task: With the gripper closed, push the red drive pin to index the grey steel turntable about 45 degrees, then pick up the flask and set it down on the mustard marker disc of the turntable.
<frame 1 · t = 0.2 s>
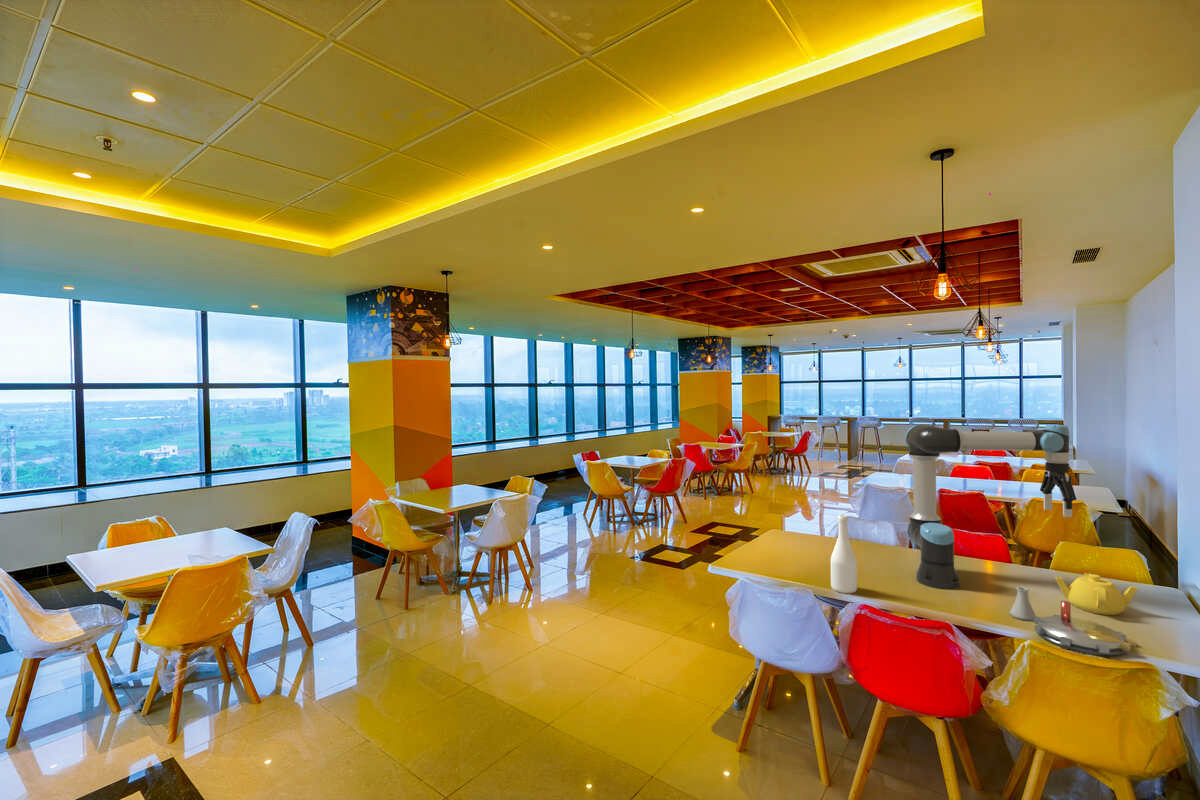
hand: (1057, 513, 218), 28 cm above the table, fingers open, 13 cm apart
teapot: (1095, 608, 190), on the table
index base: (1079, 640, 166), on the table
wine bottle: (843, 590, 211), on the table
turntable: (1079, 623, 166), point 5 cm above the table, hinge at 0.0°
flask: (1022, 617, 183), on the table
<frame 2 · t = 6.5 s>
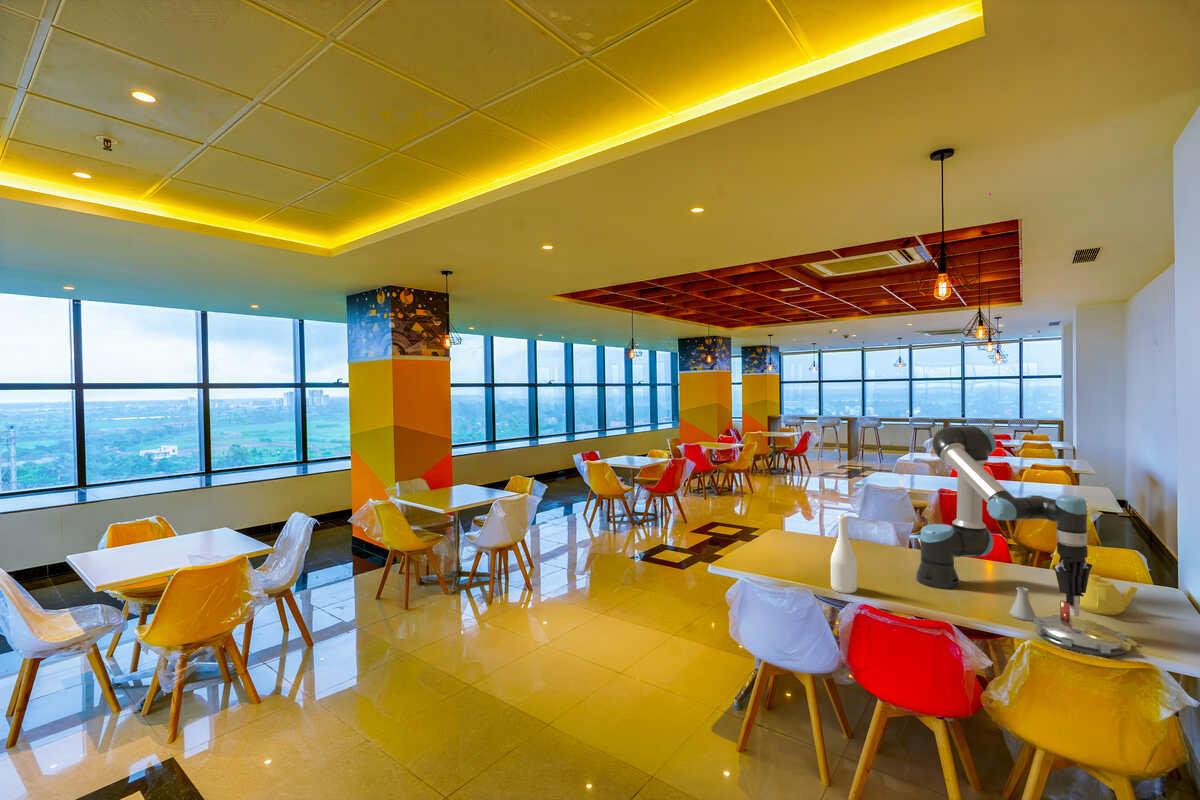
hand: (1073, 614, 173), 5 cm above the table, fingers closed
turntable: (1079, 623, 166), point 5 cm above the table, hinge at 1.6°, touching gripper
everything else where it was.
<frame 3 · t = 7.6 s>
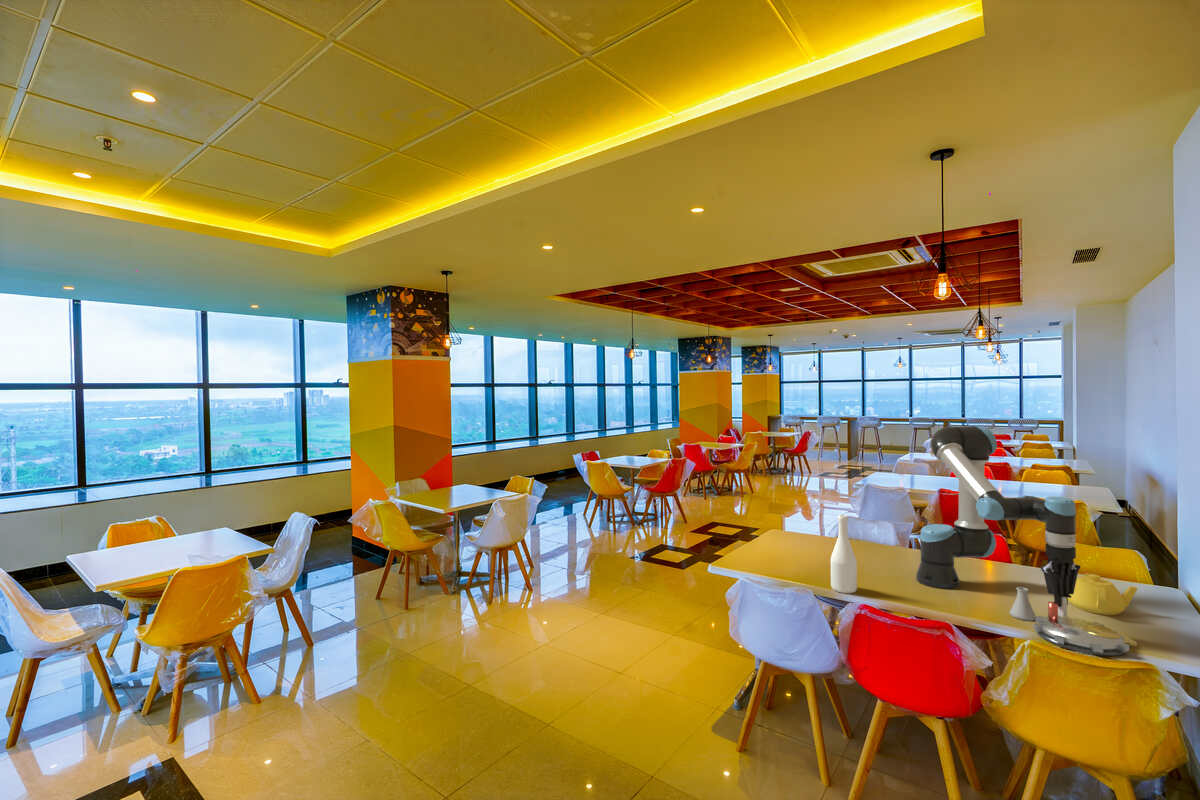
hand: (1061, 615, 173), 5 cm above the table, fingers closed
turntable: (1079, 623, 166), point 5 cm above the table, hinge at 37.4°, touching gripper
everything else where it was.
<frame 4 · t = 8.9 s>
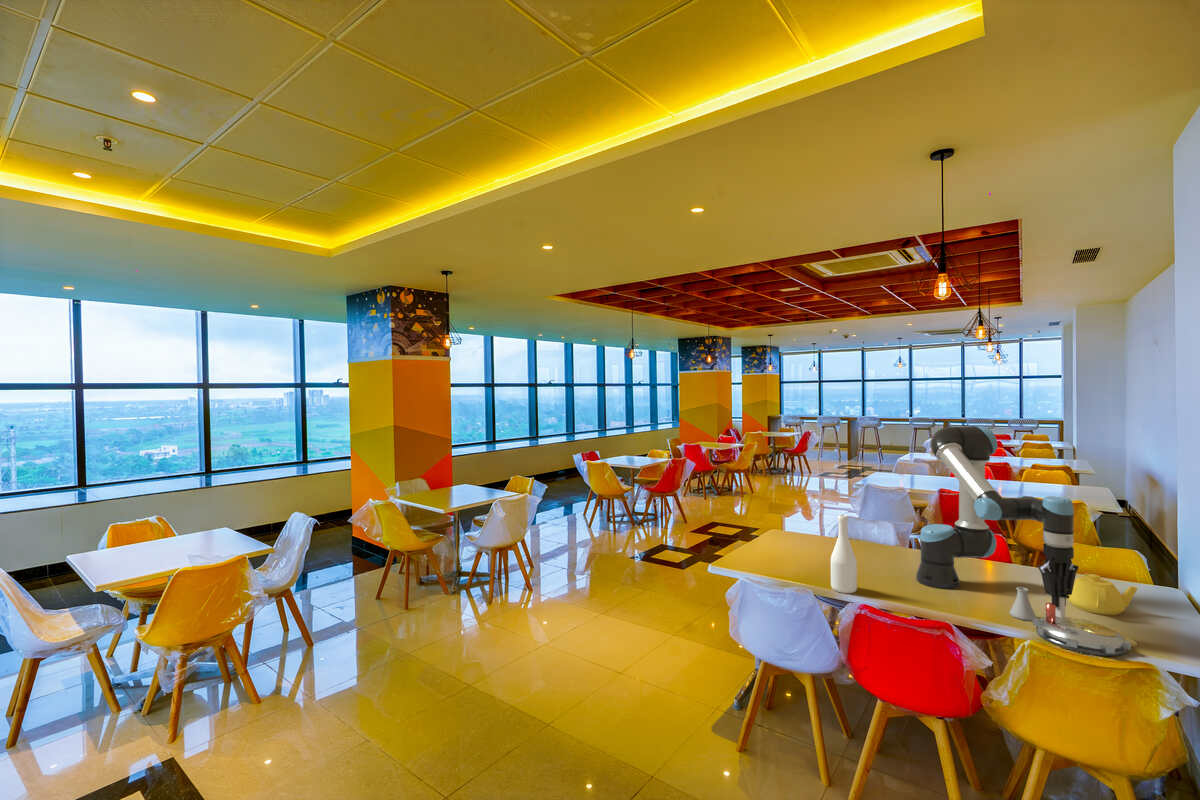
hand: (1058, 616, 172), 5 cm above the table, fingers closed
turntable: (1079, 623, 166), point 5 cm above the table, hinge at 52.6°
everything else where it was.
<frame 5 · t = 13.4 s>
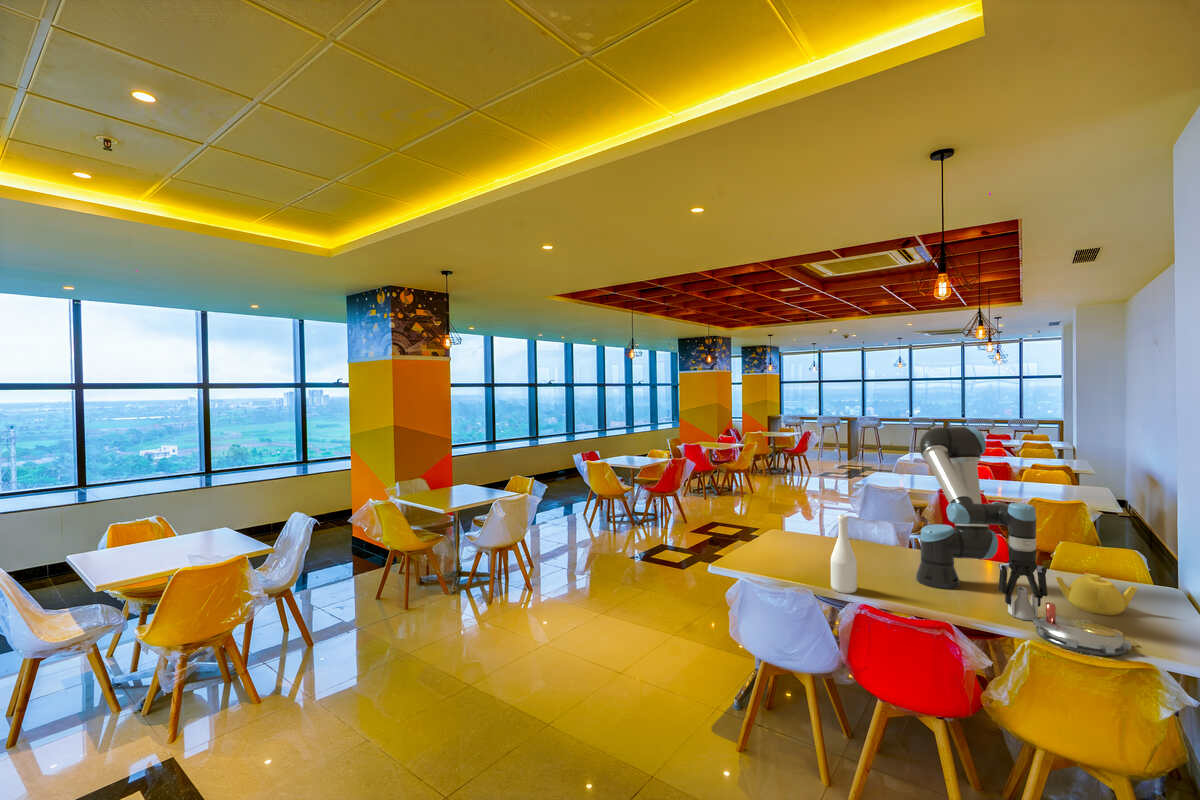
hand: (1022, 614, 183), 1 cm above the table, fingers closed on flask, 6 cm apart
flask: (1022, 617, 183), on the table, touching gripper
everything else where it was.
when the fingers open (6 cm above the table, at t = 17.8 s): flask drops 1 cm, resting on turntable.
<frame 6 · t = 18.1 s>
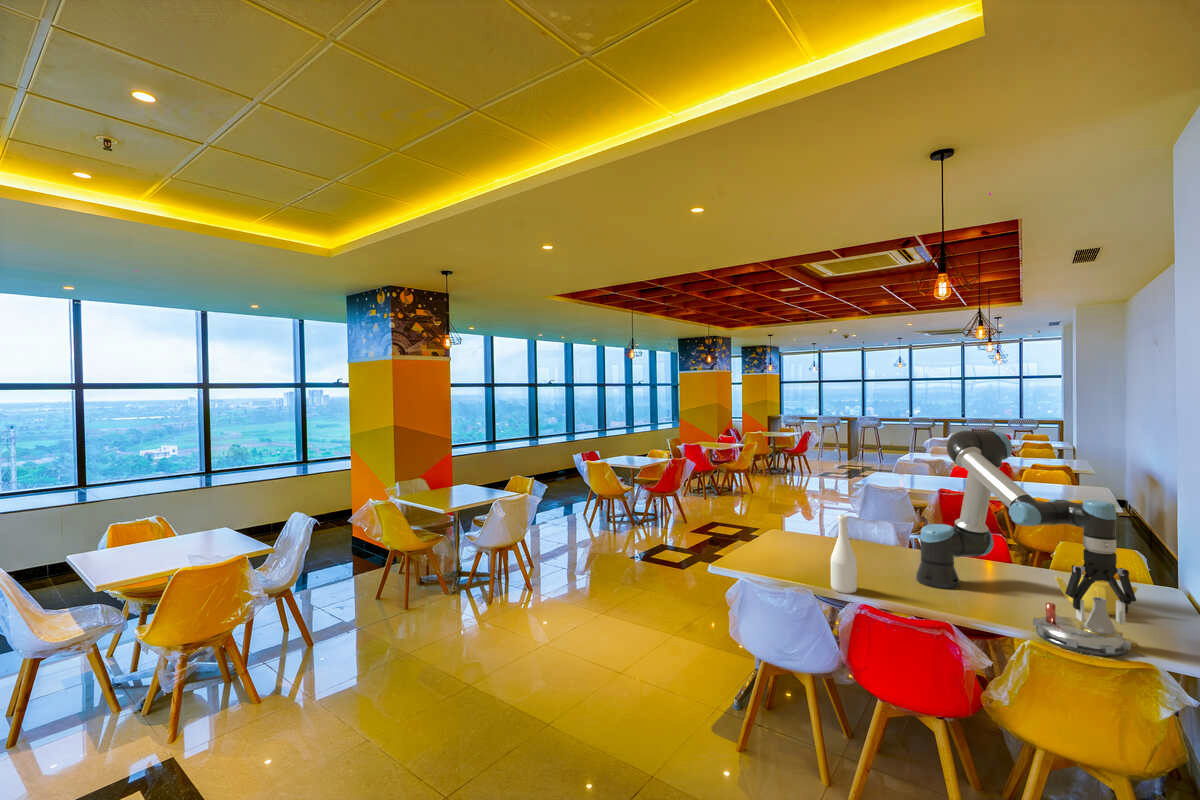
hand: (1100, 621, 164), 6 cm above the table, fingers open, 10 cm apart
turntable: (1079, 623, 166), point 5 cm above the table, hinge at 52.7°, touching flask
flask: (1099, 631, 164), point 3 cm above the table, touching turntable
everything else where it was.
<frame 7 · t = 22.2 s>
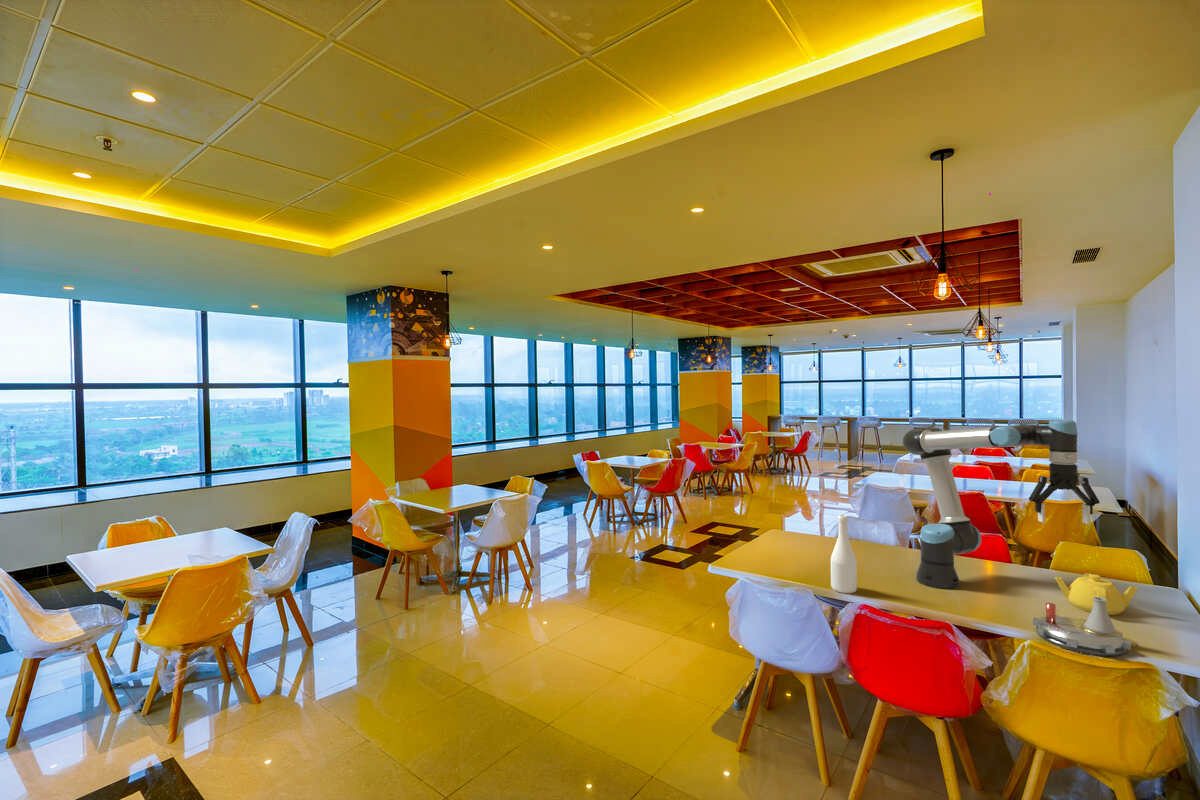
hand: (1063, 522, 187), 32 cm above the table, fingers open, 13 cm apart
nothing on the table moved.
at the end: turntable at +53° (first picture: +0°); flask 5.5 cm from the turntable (horizontally); flask tilted 0° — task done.
